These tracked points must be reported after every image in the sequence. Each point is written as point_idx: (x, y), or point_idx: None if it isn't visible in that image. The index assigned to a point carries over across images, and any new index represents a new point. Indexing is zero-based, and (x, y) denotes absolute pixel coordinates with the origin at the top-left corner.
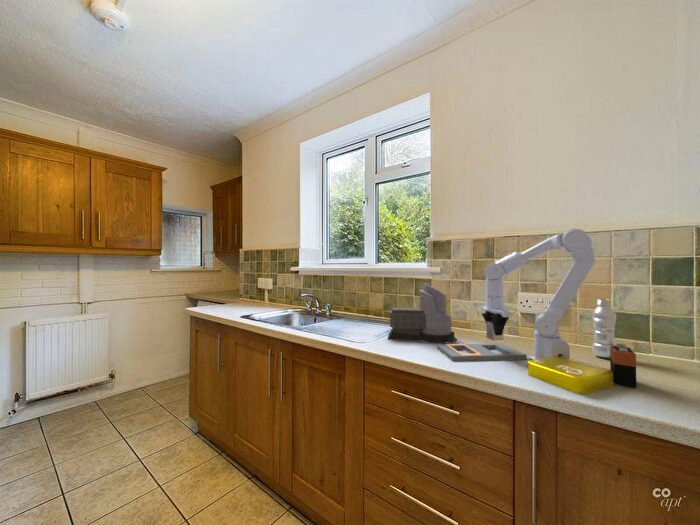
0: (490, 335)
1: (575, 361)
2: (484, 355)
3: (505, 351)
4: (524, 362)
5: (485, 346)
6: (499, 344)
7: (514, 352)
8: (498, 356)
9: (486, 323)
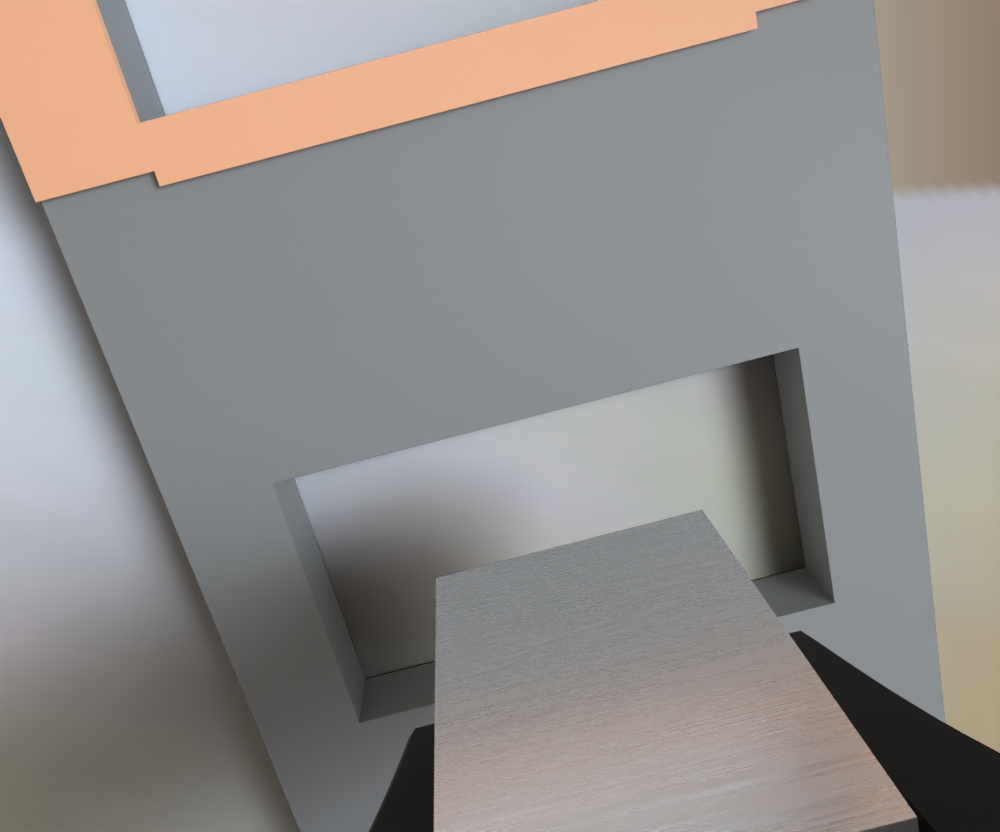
0: (545, 602)
1: None
2: (72, 245)
3: None
4: (172, 781)
5: (804, 435)
6: None
7: None
8: (173, 493)
9: (952, 755)
